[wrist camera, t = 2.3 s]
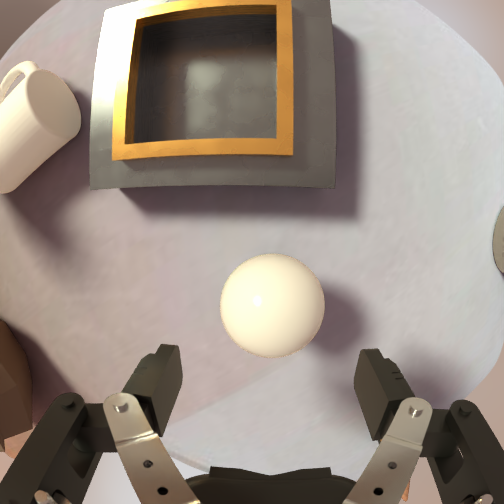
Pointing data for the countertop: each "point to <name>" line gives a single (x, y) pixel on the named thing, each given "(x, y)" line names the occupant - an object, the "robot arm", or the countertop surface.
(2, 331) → the brown cauldron
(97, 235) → the countertop surface
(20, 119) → the mug
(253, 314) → the lightbulb
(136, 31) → the grey shallow box
